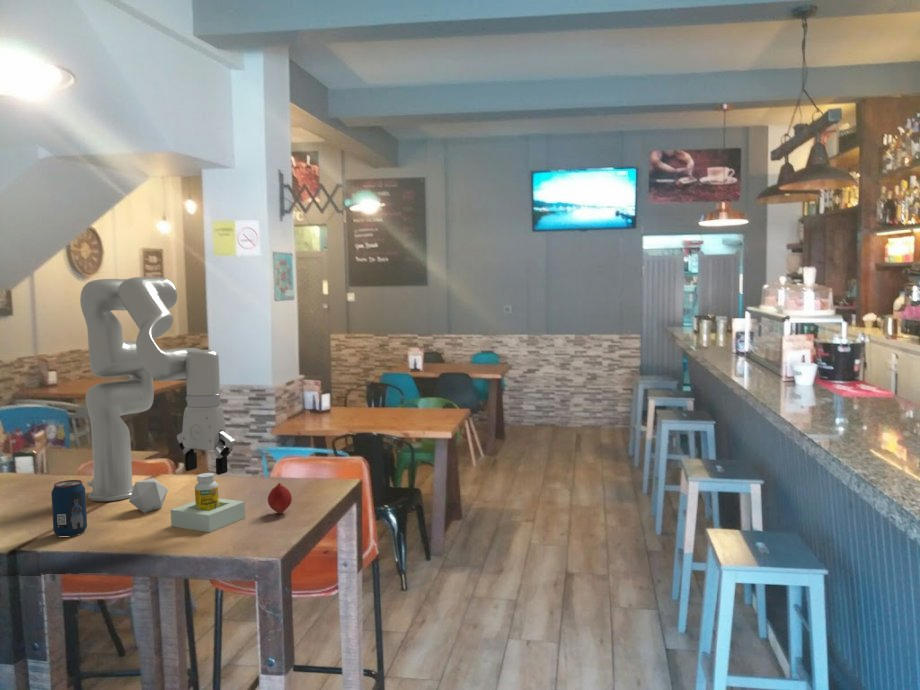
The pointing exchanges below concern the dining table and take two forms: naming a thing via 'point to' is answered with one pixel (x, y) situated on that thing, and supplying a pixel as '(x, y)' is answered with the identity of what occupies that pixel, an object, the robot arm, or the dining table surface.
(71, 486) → the soda can
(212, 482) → the supplement bottle
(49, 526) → the dining table surface
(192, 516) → the sage block
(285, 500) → the onion
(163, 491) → the die
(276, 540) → the dining table surface
